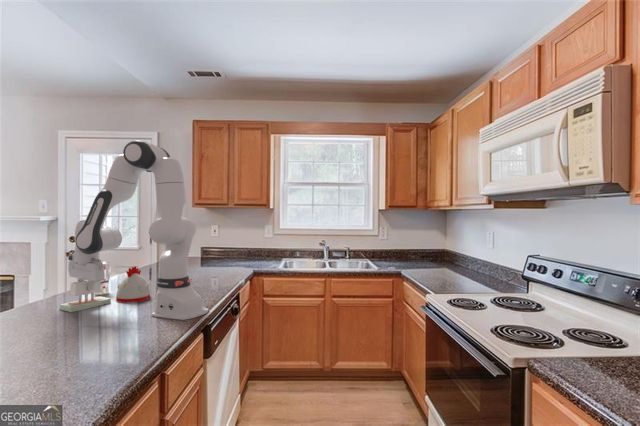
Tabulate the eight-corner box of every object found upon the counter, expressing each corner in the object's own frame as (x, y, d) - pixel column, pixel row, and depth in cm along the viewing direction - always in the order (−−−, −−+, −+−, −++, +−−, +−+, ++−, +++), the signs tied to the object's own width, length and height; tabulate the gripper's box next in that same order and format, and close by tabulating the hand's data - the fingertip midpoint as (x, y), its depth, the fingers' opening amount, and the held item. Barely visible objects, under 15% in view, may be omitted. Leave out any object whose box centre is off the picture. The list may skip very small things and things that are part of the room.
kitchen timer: (108, 301, 152) (109, 268, 152) (131, 294, 166) (132, 263, 166) (134, 303, 149) (135, 270, 149) (156, 296, 163) (157, 265, 163)
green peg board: (110, 303, 149) (110, 290, 149) (70, 312, 135) (70, 298, 135) (99, 300, 153) (100, 288, 153) (59, 309, 138) (59, 296, 138)
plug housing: (110, 289, 151) (111, 278, 151) (75, 296, 138) (75, 284, 138) (105, 288, 153) (105, 277, 153) (70, 295, 140) (70, 283, 140)
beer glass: (113, 292, 167) (114, 262, 167) (100, 295, 161) (100, 264, 161) (103, 291, 170) (103, 261, 169) (89, 294, 163) (90, 263, 163)
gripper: (109, 258, 142) (108, 291, 142) (81, 254, 151) (80, 285, 151) (93, 260, 136) (92, 294, 136) (65, 255, 145) (64, 287, 145)
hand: (86, 289), depth 144 cm, fingers closed on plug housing, 4 cm apart
